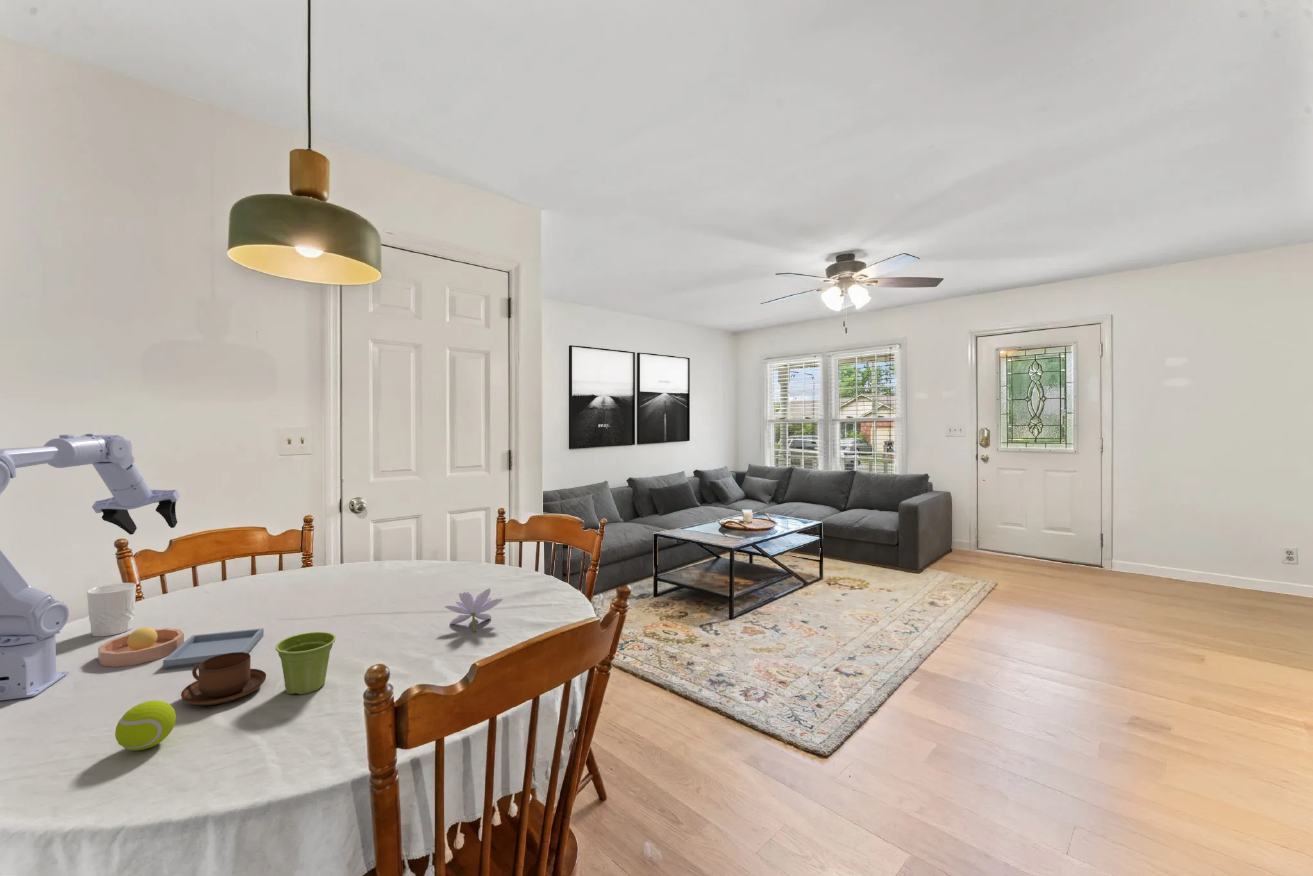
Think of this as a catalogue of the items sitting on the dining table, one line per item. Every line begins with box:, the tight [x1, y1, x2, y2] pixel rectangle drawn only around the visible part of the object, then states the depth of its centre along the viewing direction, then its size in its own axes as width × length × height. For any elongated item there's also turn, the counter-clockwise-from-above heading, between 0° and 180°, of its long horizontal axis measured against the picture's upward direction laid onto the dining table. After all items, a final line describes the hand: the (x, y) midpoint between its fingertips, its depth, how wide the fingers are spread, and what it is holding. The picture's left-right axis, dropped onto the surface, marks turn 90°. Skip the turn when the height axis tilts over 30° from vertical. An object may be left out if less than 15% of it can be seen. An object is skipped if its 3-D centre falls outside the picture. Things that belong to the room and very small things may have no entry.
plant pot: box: [274, 631, 337, 695], centre depth 100 cm, size 9×9×9 cm
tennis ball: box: [114, 699, 177, 752], centre depth 81 cm, size 7×7×7 cm
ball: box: [127, 627, 157, 650], centre depth 112 cm, size 5×5×5 cm
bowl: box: [97, 627, 185, 668], centre depth 112 cm, size 13×13×3 cm
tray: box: [162, 627, 265, 670], centre depth 114 cm, size 13×13×2 cm
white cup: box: [86, 582, 137, 637], centre depth 123 cm, size 8×8×10 cm
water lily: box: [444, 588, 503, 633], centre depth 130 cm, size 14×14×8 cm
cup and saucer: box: [180, 652, 267, 706], centre depth 97 cm, size 12×12×6 cm
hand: (154, 528), depth 124 cm, fingers open, 7 cm apart
